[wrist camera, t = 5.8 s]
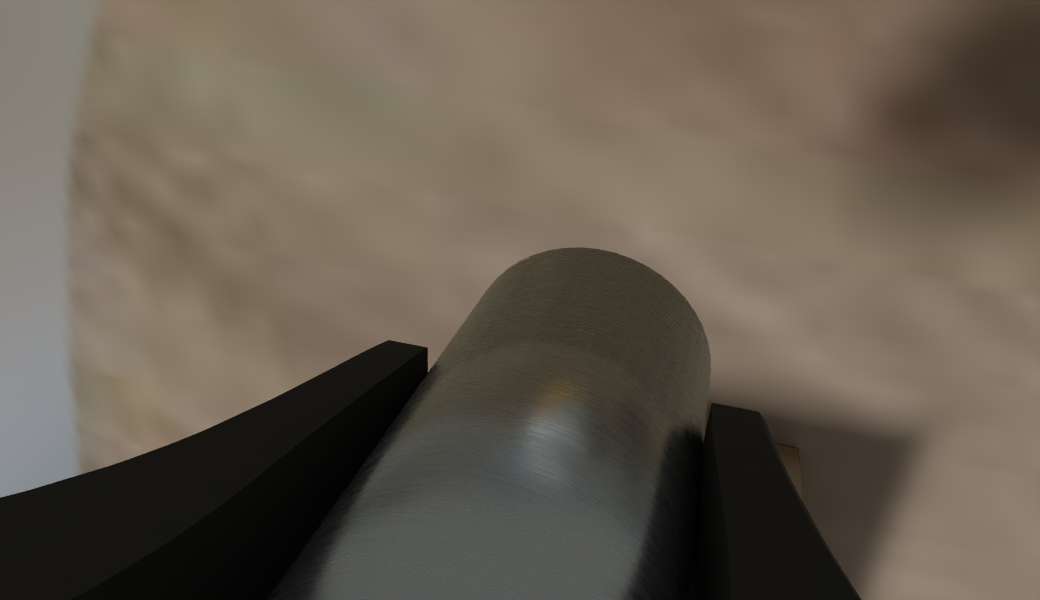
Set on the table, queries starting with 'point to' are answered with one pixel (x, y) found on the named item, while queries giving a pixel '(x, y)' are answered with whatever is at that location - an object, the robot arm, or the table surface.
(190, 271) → the table surface
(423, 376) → the robot arm
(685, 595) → the grey cylinder
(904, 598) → the table surface
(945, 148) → the table surface
